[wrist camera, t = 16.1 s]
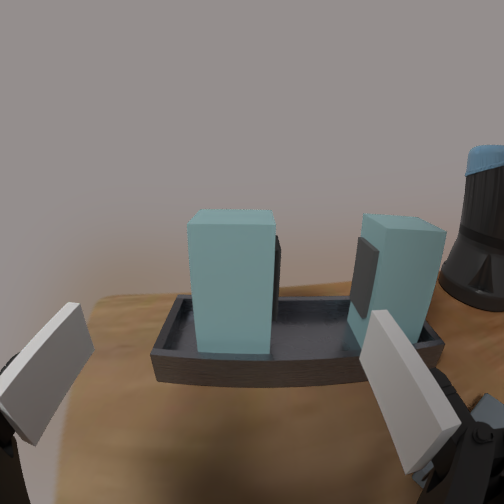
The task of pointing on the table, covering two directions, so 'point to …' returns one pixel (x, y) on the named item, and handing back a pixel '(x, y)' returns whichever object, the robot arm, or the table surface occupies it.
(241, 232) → the finger
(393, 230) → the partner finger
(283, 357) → the dark gray tray
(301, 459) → the table surface
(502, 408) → the bracket
